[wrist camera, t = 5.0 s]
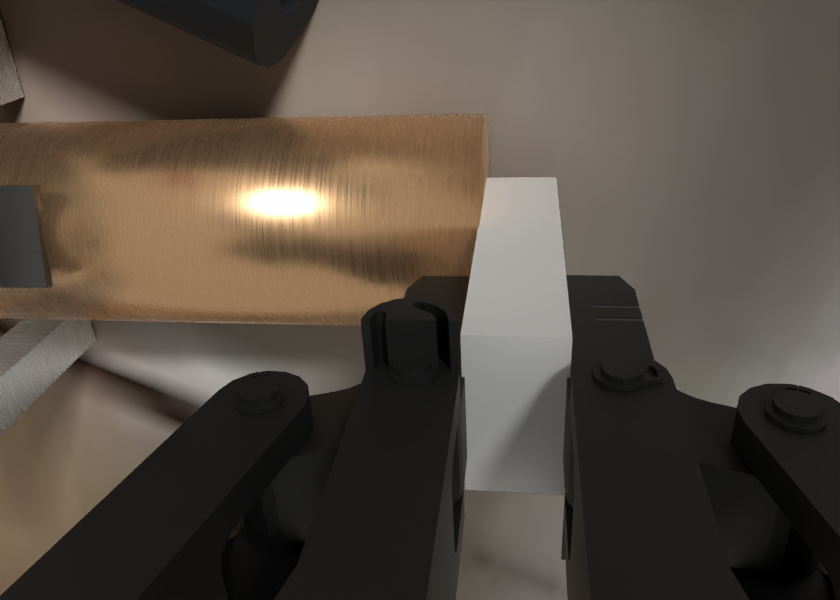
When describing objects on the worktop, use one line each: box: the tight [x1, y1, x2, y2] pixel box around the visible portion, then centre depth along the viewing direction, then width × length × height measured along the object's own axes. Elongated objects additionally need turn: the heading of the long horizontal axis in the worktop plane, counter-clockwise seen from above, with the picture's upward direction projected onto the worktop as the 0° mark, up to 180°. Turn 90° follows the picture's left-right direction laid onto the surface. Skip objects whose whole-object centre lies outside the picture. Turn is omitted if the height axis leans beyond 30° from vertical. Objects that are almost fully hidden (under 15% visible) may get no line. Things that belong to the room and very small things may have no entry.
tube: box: [0, 114, 490, 326], centre depth 16 cm, size 12×4×4 cm, turn 93°
